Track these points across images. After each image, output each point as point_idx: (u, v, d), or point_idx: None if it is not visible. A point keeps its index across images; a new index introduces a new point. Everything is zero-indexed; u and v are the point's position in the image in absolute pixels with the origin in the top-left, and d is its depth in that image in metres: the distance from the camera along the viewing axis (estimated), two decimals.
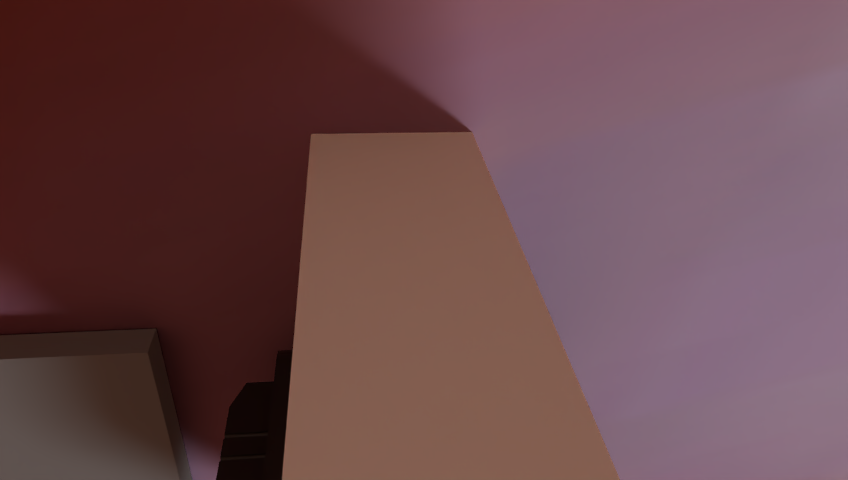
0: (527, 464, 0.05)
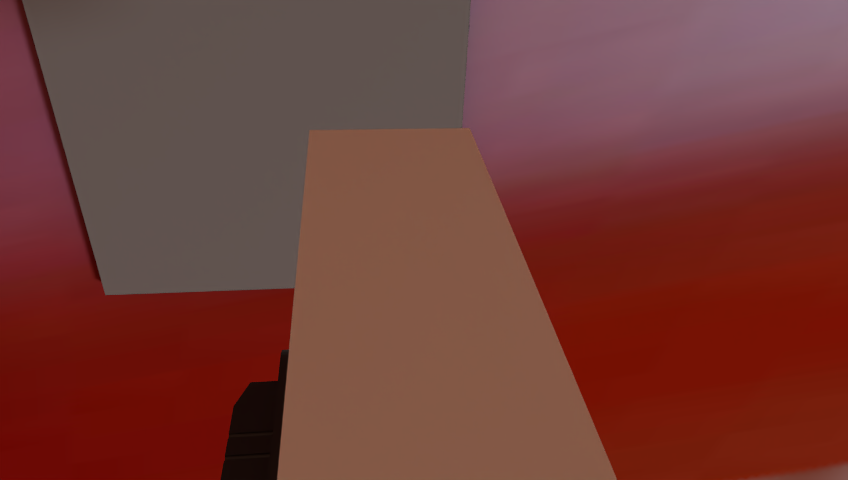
0: (521, 457, 0.05)
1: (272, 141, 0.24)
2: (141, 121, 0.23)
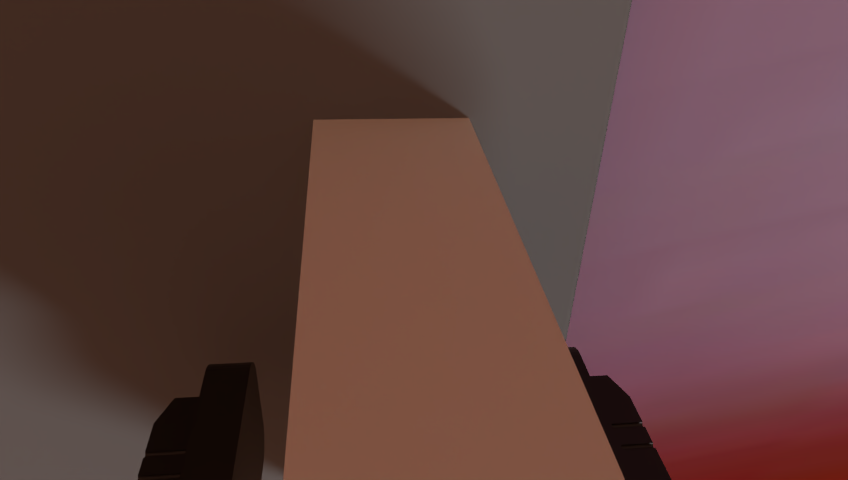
0: (517, 418, 0.05)
1: None
2: None
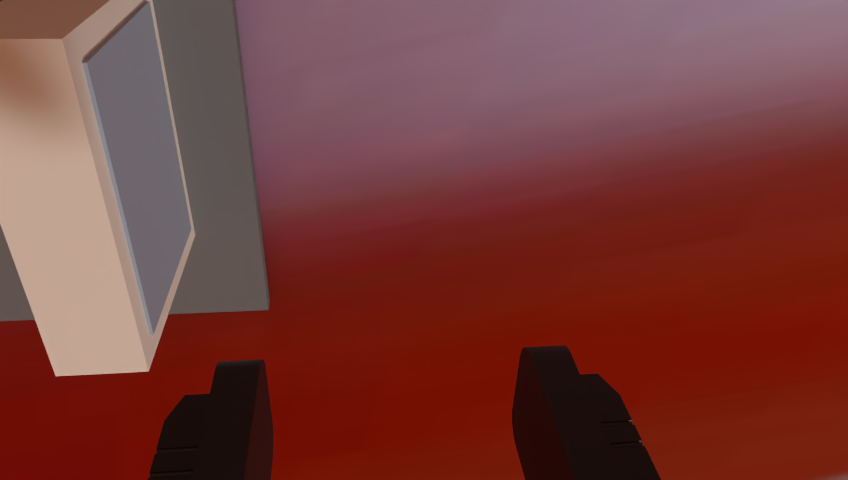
0: (44, 26, 0.14)
1: None
2: None
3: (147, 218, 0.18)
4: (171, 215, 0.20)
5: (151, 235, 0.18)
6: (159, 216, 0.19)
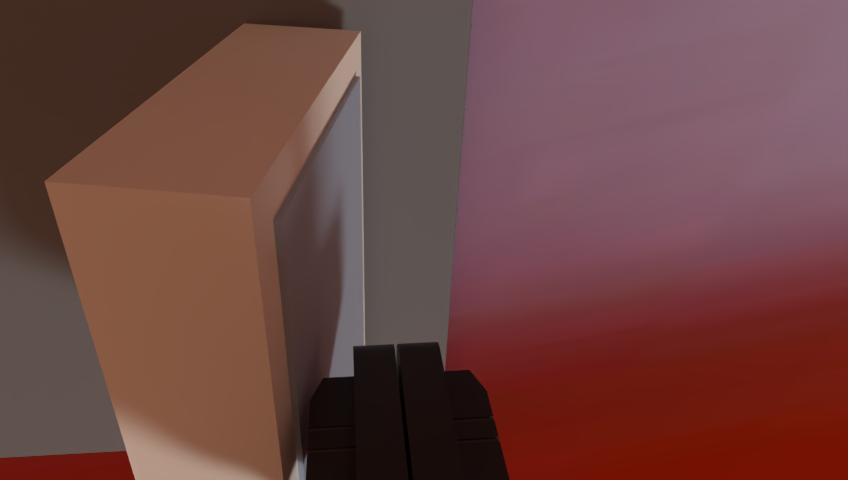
0: (223, 159, 0.08)
1: None
2: None
3: None
4: (348, 366, 0.15)
5: None
6: None
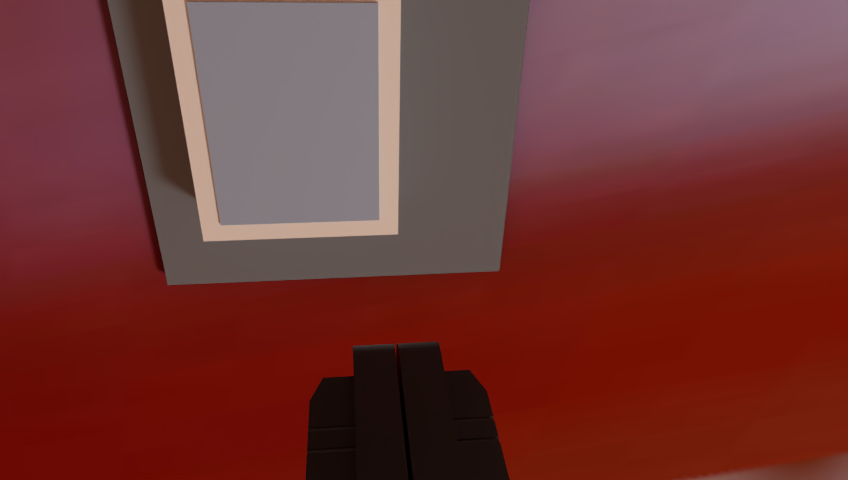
0: None
1: None
2: None
3: (257, 151, 0.22)
4: (323, 180, 0.23)
5: (259, 166, 0.22)
6: (288, 164, 0.22)
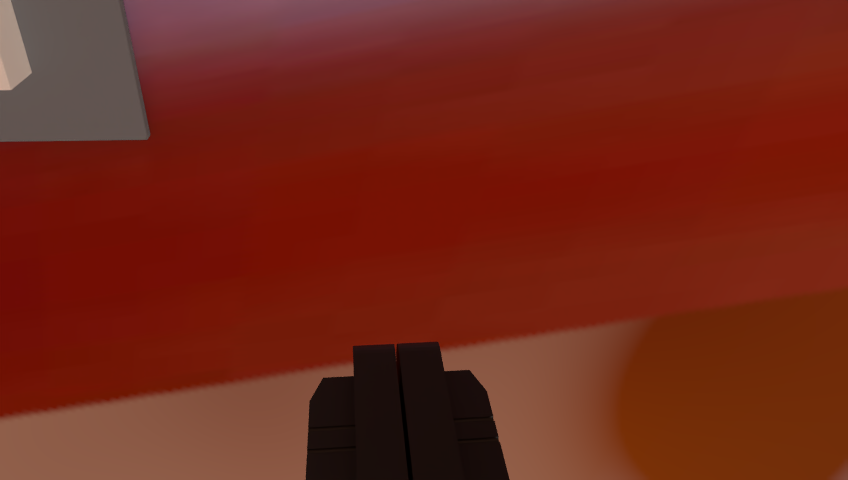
0: None
1: None
2: None
3: None
4: None
5: None
6: None
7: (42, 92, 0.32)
